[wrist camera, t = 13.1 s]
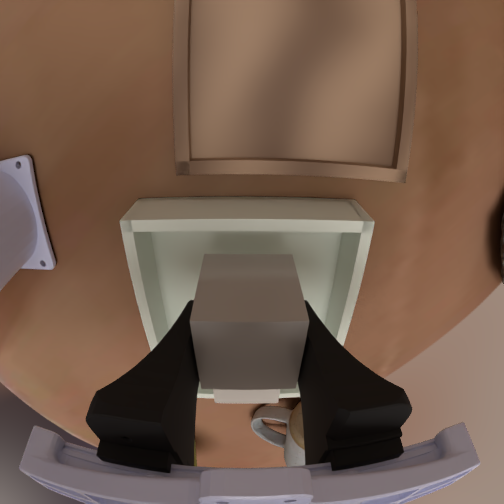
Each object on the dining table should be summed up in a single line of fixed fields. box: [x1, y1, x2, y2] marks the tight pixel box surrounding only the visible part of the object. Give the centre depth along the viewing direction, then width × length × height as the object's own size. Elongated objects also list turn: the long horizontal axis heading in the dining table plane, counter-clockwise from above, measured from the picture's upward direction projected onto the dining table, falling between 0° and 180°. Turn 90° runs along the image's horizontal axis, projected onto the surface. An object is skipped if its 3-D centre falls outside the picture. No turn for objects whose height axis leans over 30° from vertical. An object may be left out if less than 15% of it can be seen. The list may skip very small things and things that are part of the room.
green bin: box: [120, 196, 375, 398], centre depth 18 cm, size 12×14×3 cm
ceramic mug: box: [251, 402, 305, 467], centre depth 24 cm, size 11×8×8 cm
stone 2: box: [213, 389, 280, 403], centre depth 18 cm, size 4×4×4 cm
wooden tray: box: [173, 0, 418, 183], centre depth 11 cm, size 12×14×1 cm
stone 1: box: [190, 254, 309, 390], centre depth 13 cm, size 4×4×4 cm
